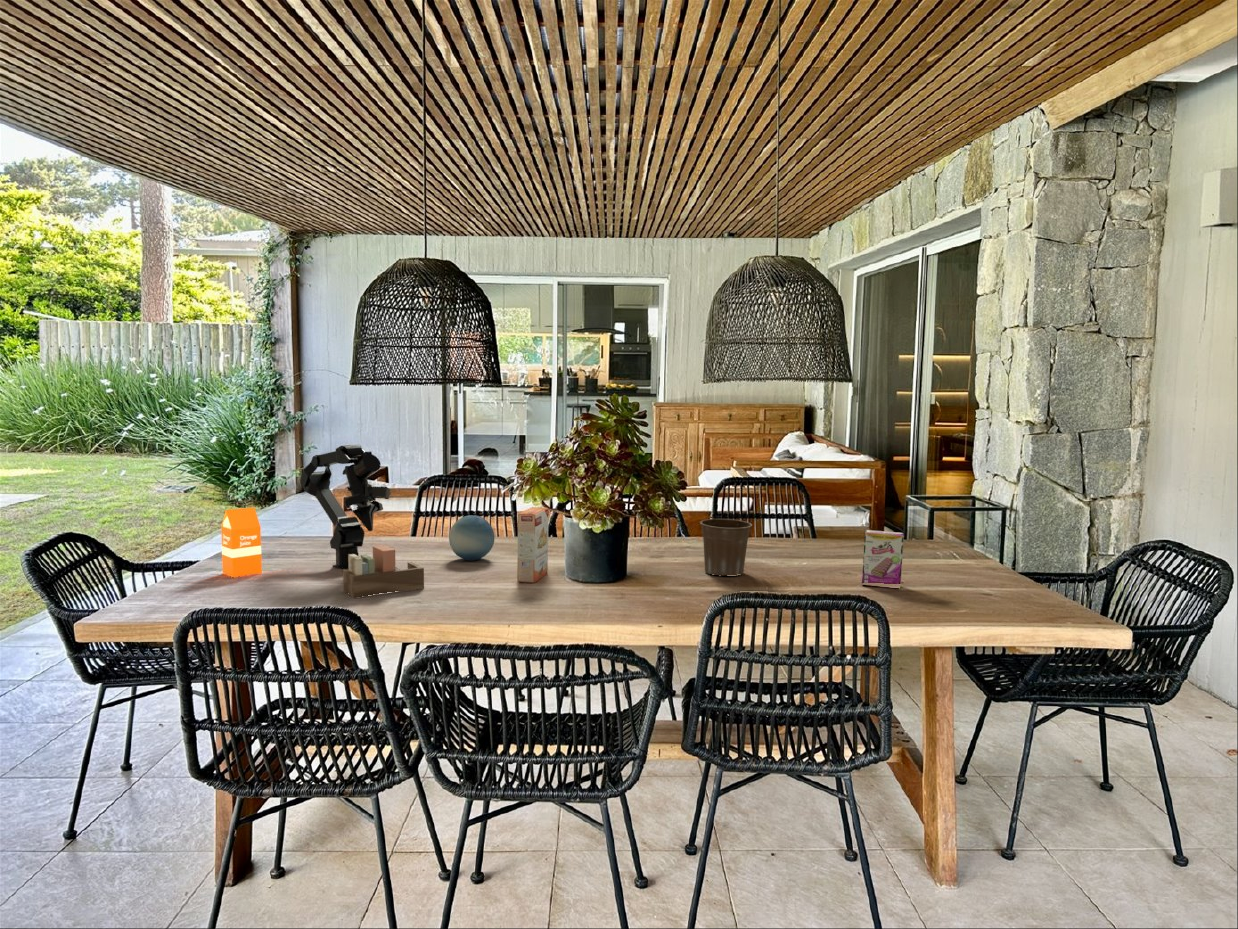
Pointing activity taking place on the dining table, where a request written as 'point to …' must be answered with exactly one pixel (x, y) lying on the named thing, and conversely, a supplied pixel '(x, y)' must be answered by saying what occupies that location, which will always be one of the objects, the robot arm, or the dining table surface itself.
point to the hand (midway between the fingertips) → (370, 530)
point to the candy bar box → (882, 557)
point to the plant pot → (725, 545)
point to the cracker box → (532, 544)
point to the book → (384, 558)
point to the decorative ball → (471, 537)
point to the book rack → (379, 577)
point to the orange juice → (241, 542)
